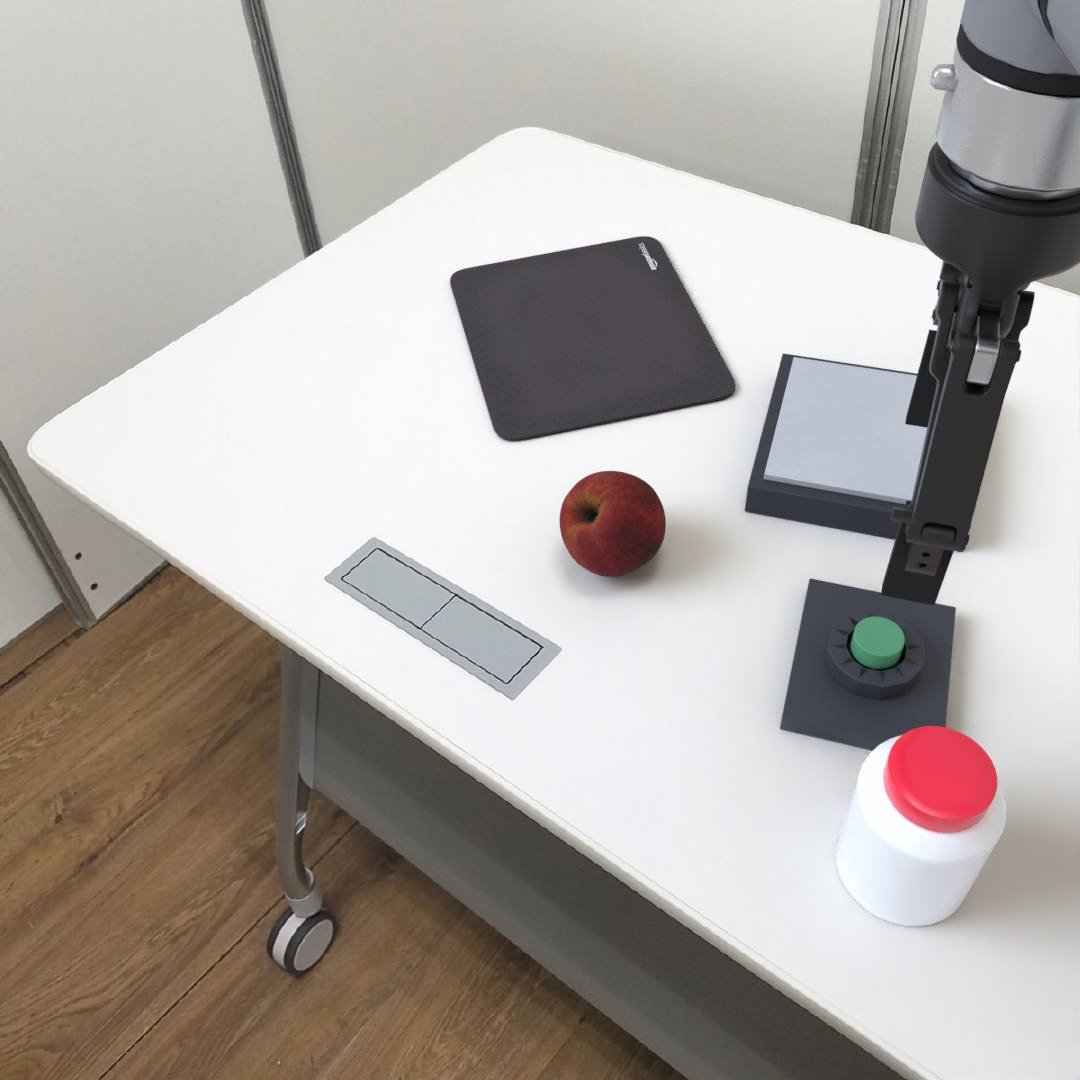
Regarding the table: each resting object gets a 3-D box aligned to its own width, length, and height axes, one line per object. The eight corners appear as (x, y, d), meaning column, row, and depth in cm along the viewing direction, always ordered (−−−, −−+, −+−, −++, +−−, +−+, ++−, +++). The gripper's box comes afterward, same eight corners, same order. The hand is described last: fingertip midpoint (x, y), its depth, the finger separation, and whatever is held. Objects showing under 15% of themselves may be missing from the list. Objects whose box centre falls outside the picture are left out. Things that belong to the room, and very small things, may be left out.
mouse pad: (741, 395, 93) (742, 393, 92) (498, 444, 90) (497, 442, 90) (655, 234, 109) (655, 233, 109) (446, 273, 106) (446, 271, 106)
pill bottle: (942, 952, 62) (992, 868, 53) (813, 883, 65) (842, 793, 56) (987, 842, 66) (1040, 748, 57) (864, 782, 69) (898, 685, 60)
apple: (547, 536, 84) (541, 462, 78) (641, 508, 85) (643, 433, 79) (581, 608, 79) (578, 535, 73) (680, 577, 80) (685, 503, 74)
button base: (938, 766, 69) (949, 741, 67) (779, 729, 71) (784, 704, 69) (951, 619, 76) (961, 592, 74) (807, 589, 79) (812, 563, 77)
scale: (961, 552, 80) (973, 521, 78) (744, 511, 84) (748, 480, 82) (974, 409, 90) (984, 377, 88) (779, 378, 94) (783, 347, 91)
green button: (897, 674, 71) (902, 660, 69) (847, 663, 71) (851, 650, 70) (902, 635, 73) (907, 621, 71) (853, 625, 73) (857, 611, 72)
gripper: (951, 14, 54) (875, 354, 70) (902, 323, 39) (819, 666, 55) (1116, 27, 52) (999, 372, 68) (1133, 355, 37) (977, 700, 53)
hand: (919, 504), depth 61 cm, fingers open, 13 cm apart
